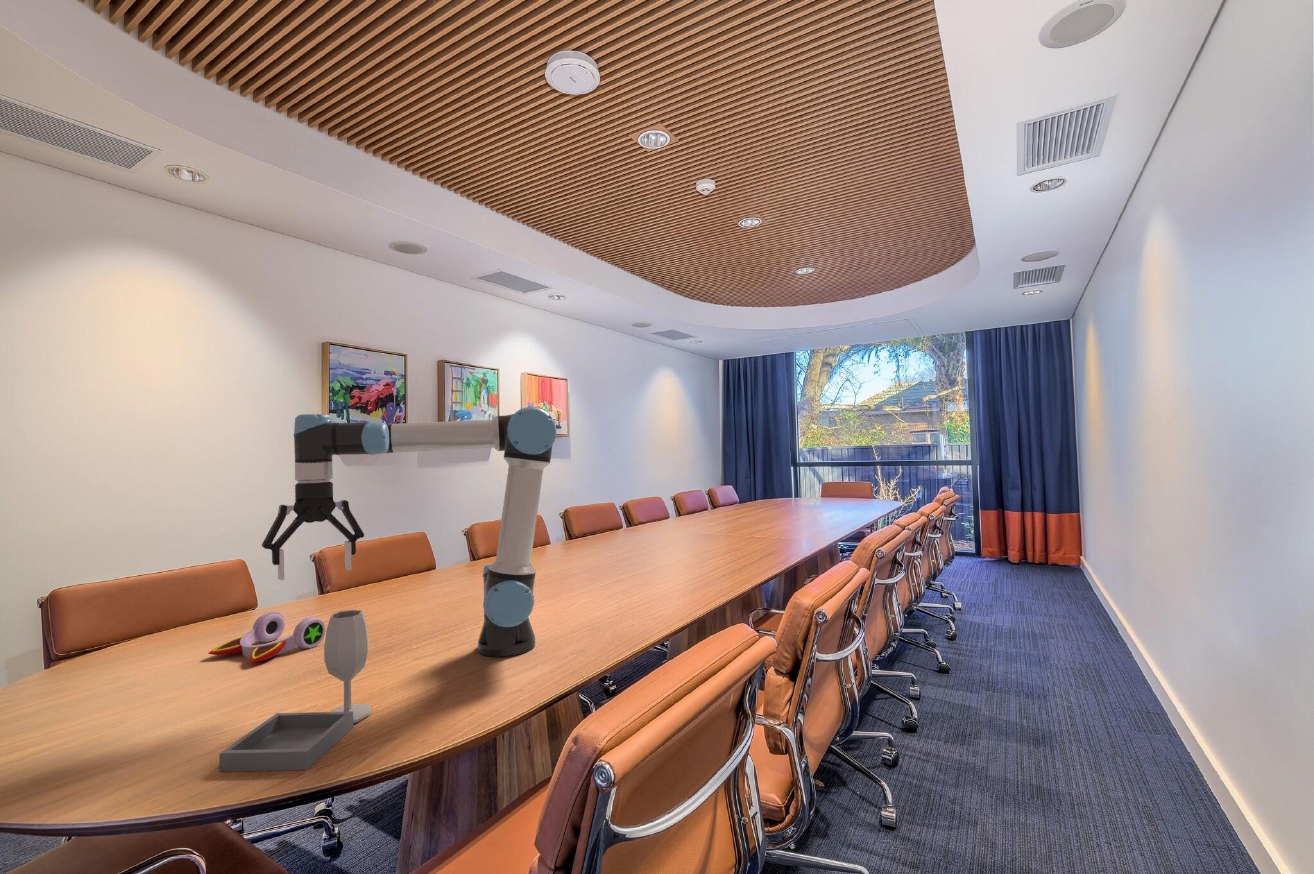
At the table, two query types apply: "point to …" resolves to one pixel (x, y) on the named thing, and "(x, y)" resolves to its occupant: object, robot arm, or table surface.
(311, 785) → the table surface
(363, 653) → the wineglass
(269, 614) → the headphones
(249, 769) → the tray
